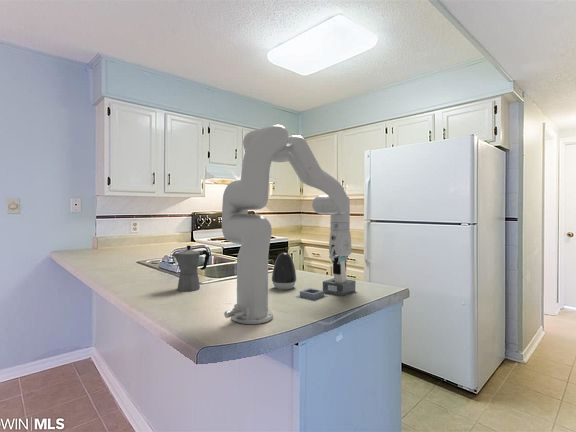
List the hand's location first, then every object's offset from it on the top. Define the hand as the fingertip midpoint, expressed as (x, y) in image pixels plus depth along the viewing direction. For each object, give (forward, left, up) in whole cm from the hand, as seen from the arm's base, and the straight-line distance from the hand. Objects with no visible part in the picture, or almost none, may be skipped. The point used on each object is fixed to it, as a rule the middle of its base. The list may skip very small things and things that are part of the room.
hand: (339, 272), depth 132 cm
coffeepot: (-34, +50, -8) cm, 61 cm away
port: (0, 0, -8) cm, 8 cm away
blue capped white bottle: (0, -1, -4) cm, 4 cm away
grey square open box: (-13, +4, -8) cm, 16 cm away
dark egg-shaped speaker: (-9, +21, -8) cm, 24 cm away
